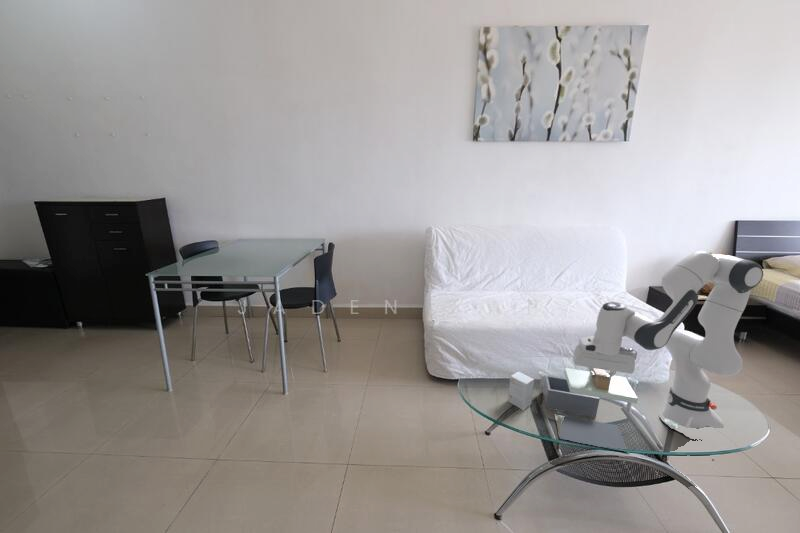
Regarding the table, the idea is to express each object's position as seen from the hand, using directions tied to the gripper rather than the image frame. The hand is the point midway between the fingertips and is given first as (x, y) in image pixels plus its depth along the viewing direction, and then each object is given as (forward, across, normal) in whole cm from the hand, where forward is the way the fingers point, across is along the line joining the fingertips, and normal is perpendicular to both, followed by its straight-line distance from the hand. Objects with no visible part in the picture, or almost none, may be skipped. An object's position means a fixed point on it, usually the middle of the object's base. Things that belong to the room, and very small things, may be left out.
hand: (599, 378), depth 134 cm
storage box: (+25, +5, -17) cm, 30 cm away
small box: (+25, +26, -11) cm, 38 cm away
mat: (+25, 0, 0) cm, 25 cm away
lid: (+4, 0, 0) cm, 4 cm away
